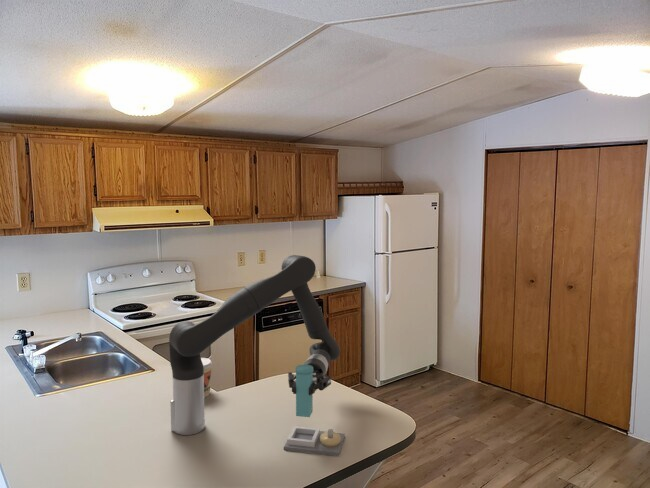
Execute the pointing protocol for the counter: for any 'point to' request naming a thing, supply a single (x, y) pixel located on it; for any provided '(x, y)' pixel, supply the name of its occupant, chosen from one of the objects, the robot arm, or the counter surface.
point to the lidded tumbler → (304, 390)
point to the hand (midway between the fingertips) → (302, 391)
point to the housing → (315, 441)
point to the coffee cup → (207, 375)
